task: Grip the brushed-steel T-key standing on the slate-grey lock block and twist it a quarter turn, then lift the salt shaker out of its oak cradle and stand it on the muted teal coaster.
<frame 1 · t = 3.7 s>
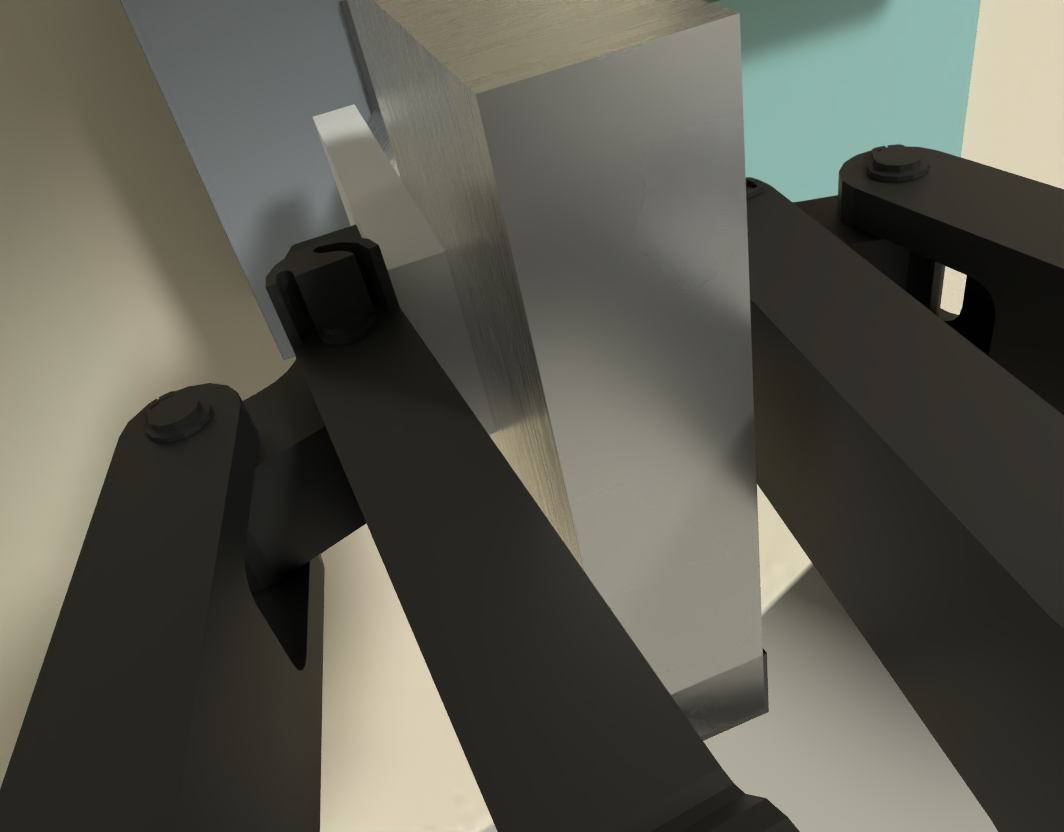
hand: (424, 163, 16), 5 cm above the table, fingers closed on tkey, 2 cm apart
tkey: (492, 260, 12), point 9 cm above the table, hinge at 0.0°, touching gripper
coaster: (832, 115, 24), on the table
lock block: (376, 96, 19), on the table
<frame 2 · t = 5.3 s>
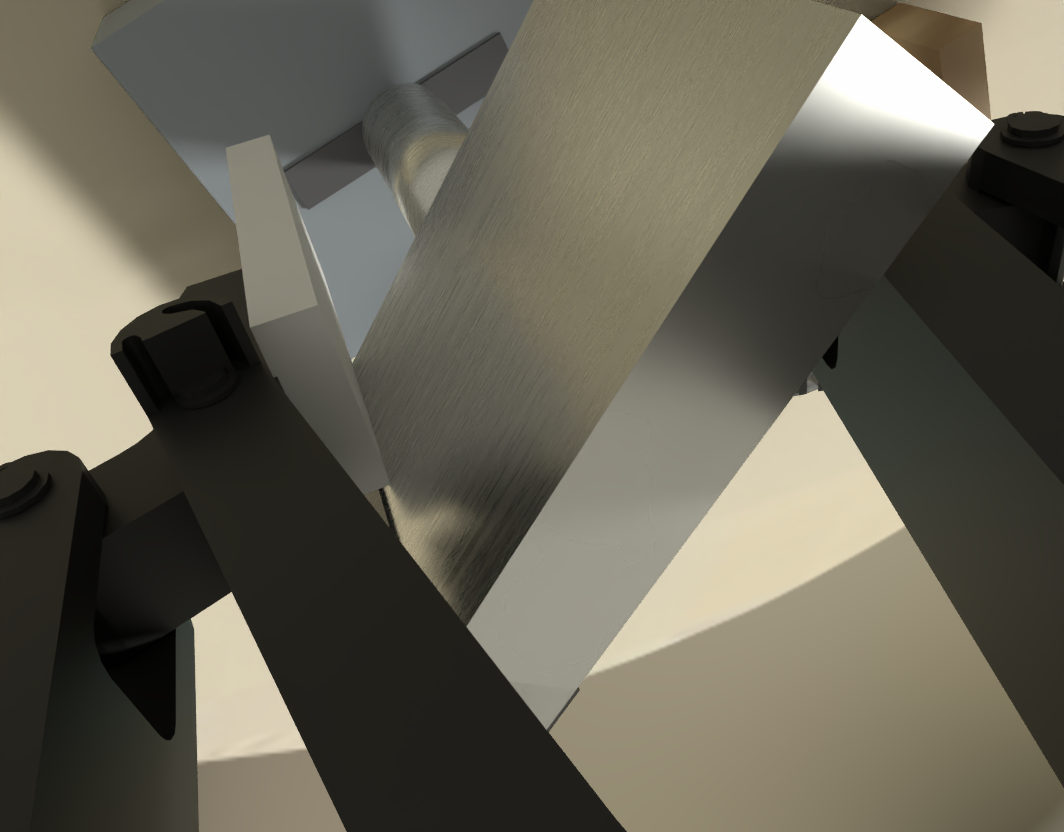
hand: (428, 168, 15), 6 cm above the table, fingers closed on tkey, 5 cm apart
cradle: (747, 255, 26), on the table
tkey: (485, 243, 12), point 9 cm above the table, hinge at 32.6°, touching gripper
lock block: (375, 86, 20), on the table
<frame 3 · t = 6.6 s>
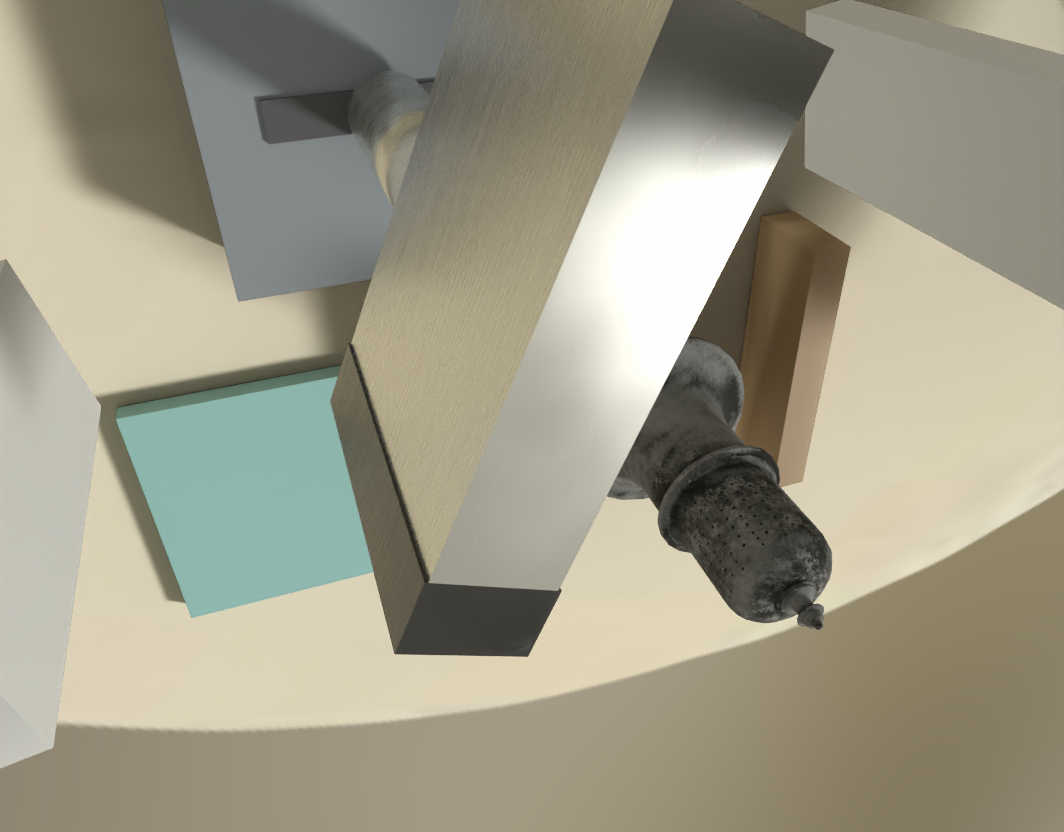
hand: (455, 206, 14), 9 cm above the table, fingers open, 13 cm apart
cradle: (612, 365, 28), on the table
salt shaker: (609, 362, 29), on the table
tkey: (456, 211, 14), point 9 cm above the table, hinge at 65.8°
coaster: (290, 485, 27), on the table
lock block: (362, 76, 21), on the table
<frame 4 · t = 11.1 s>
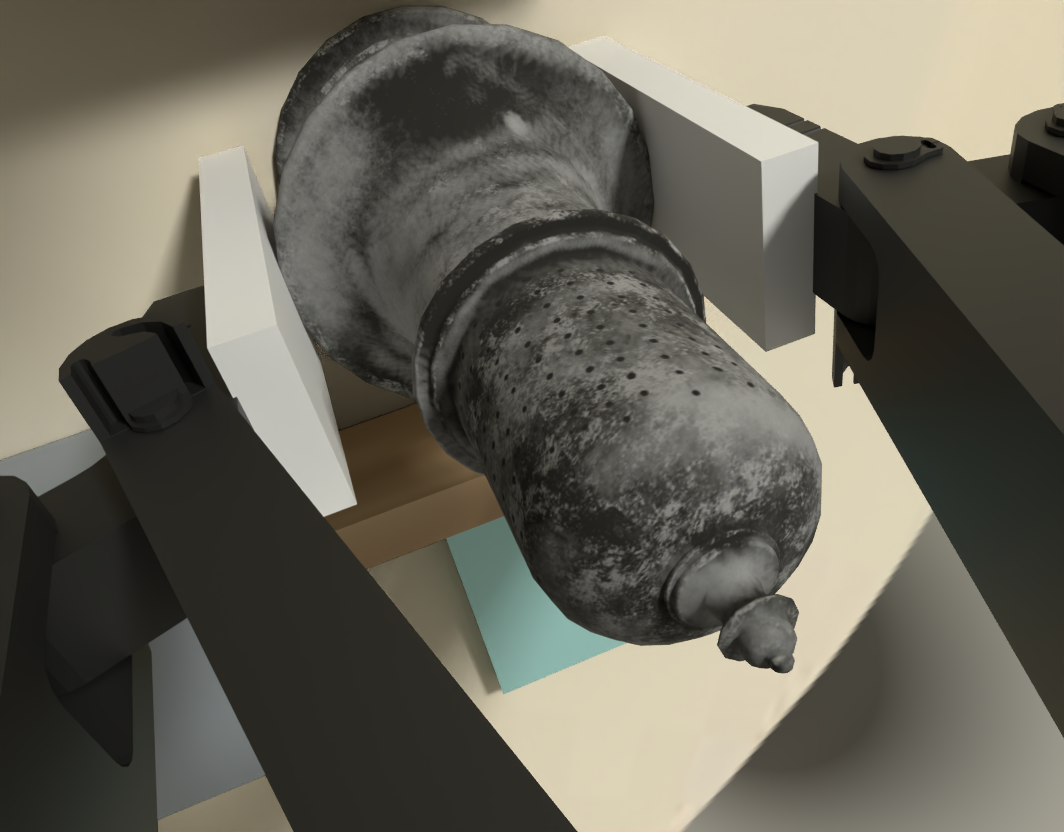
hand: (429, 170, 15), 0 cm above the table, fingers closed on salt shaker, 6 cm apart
cradle: (424, 161, 16), on the table
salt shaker: (422, 159, 16), on the table, touching gripper
coaster: (605, 532, 23), on the table
lock block: (73, 606, 18), on the table
when the fingers open (2 cm above the table, at t = 16.9 s): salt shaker drops 1 cm, resting on coaster.
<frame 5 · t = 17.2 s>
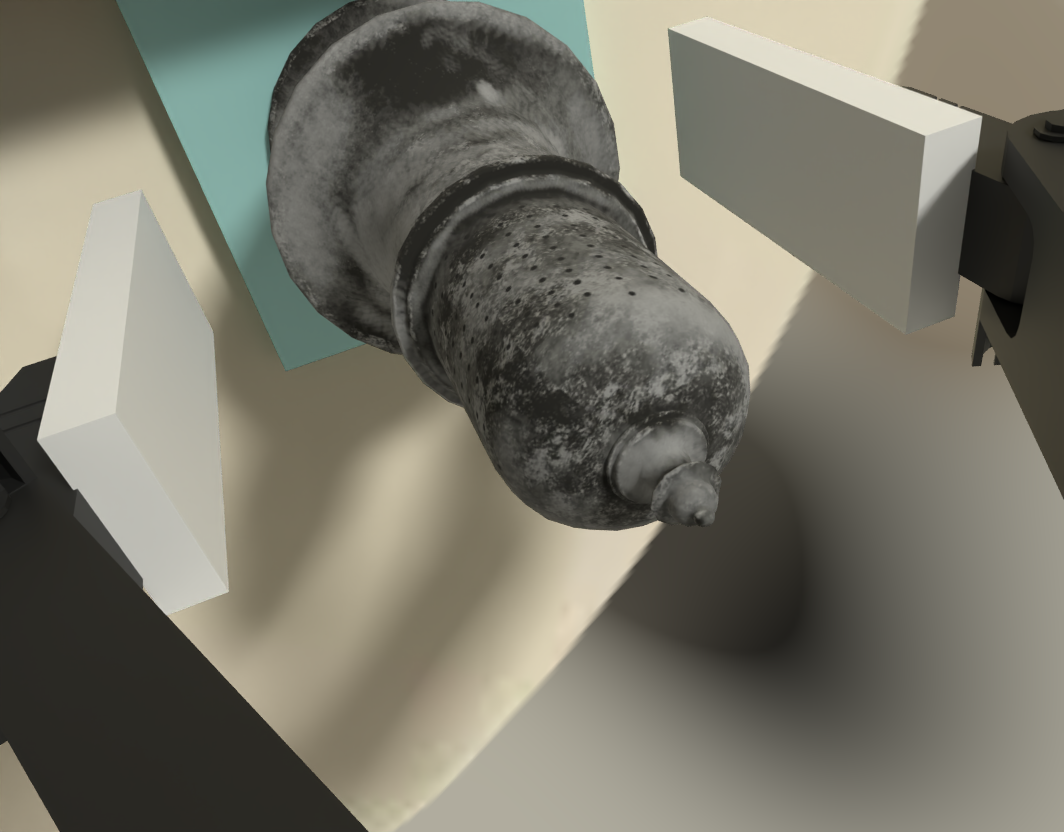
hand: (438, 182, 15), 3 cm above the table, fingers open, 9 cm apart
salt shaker: (406, 137, 17), resting on coaster
coaster: (402, 132, 17), on the table
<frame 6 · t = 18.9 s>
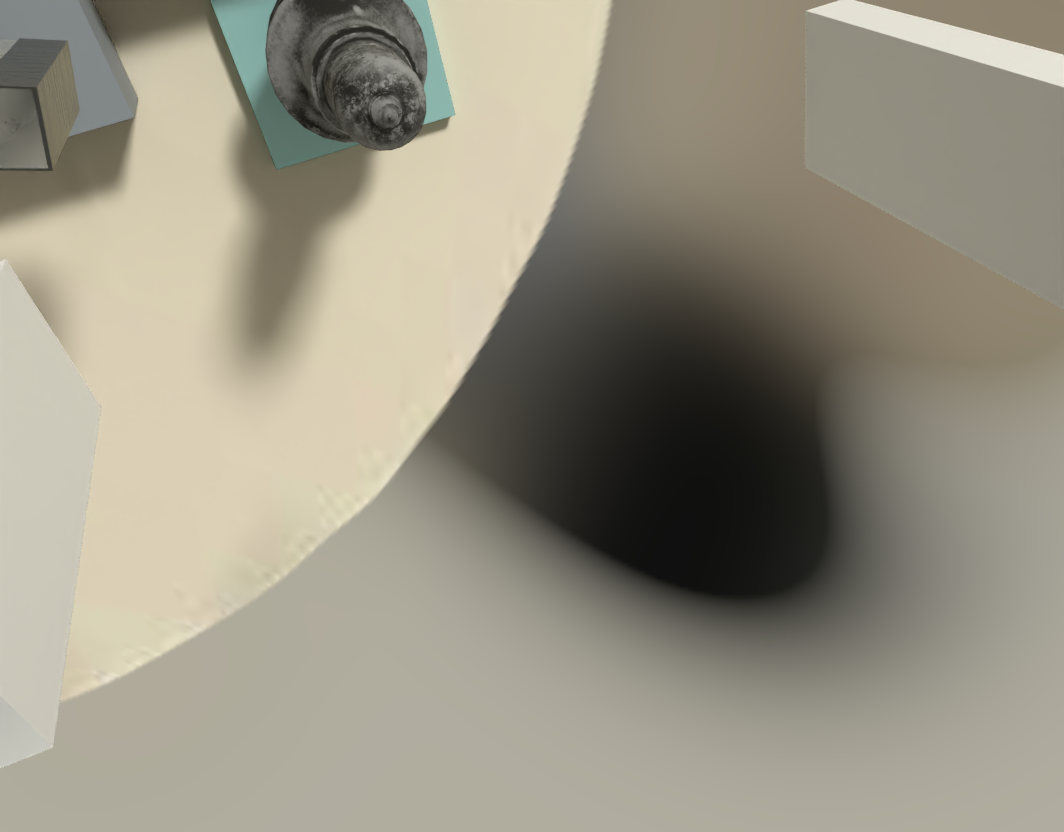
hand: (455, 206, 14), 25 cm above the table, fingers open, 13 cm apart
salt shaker: (335, 43, 34), resting on coaster
coaster: (334, 42, 34), on the table
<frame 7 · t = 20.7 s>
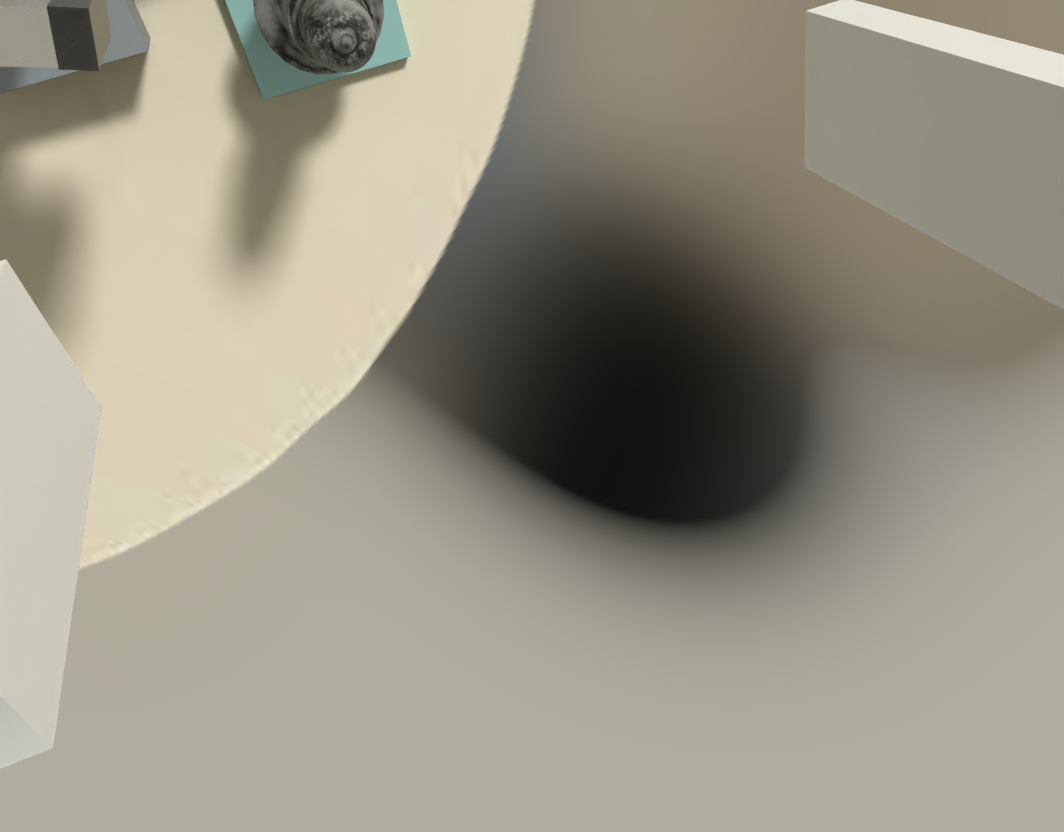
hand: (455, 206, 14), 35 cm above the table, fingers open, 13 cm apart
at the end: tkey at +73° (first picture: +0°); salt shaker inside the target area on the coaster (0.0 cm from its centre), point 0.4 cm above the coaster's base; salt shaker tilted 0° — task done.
